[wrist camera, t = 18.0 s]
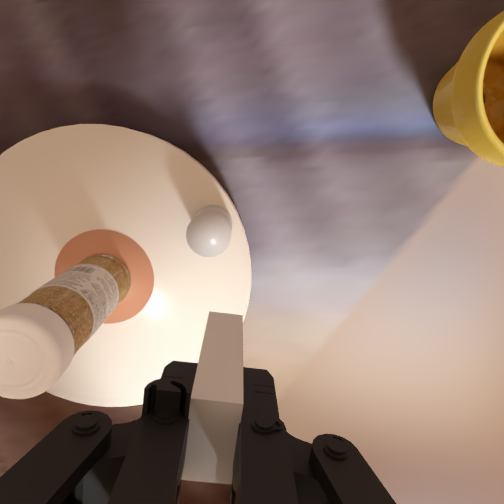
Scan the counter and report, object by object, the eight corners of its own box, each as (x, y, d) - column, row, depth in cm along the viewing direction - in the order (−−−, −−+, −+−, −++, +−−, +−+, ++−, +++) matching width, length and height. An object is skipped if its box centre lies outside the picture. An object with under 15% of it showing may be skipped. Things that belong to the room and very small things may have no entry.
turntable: (295, 325, 36) (308, 367, 29) (70, 429, 38) (30, 493, 31) (167, 72, 31) (145, 45, 23) (-86, 207, 32) (-179, 221, 25)
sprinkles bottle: (74, 299, 32) (-41, 395, 19) (79, 246, 31) (-38, 309, 18) (130, 309, 32) (55, 409, 19) (136, 256, 31) (62, 325, 18)
